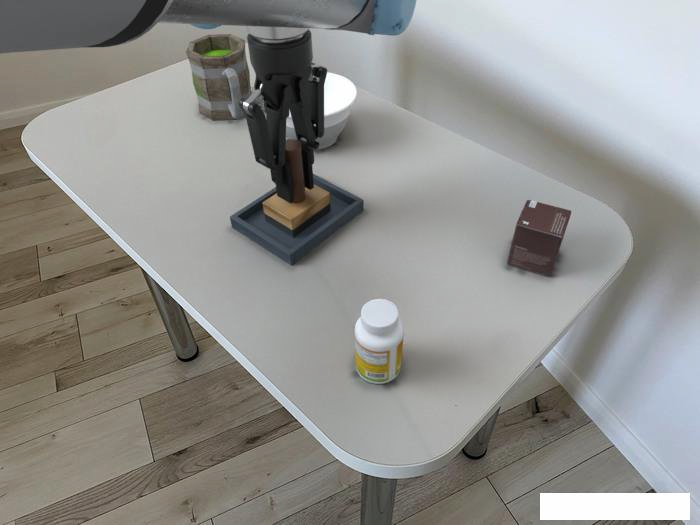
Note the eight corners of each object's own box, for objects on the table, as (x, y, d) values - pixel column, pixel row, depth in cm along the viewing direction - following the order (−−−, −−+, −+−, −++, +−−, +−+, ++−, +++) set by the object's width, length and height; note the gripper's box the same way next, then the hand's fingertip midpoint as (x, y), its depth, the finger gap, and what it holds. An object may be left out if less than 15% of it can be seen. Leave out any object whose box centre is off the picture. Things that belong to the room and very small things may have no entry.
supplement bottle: (383, 340, 70) (386, 286, 63) (410, 371, 67) (415, 317, 60) (346, 360, 68) (344, 306, 61) (372, 393, 65) (373, 340, 58)
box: (549, 278, 77) (562, 238, 72) (505, 264, 79) (515, 224, 74) (559, 250, 81) (572, 210, 76) (517, 238, 83) (527, 197, 78)
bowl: (301, 105, 111) (298, 63, 105) (374, 127, 105) (374, 83, 99) (250, 145, 101) (243, 101, 95) (327, 172, 95) (324, 126, 89)
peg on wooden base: (293, 238, 83) (285, 166, 74) (265, 220, 86) (253, 149, 77) (330, 210, 87) (327, 139, 78) (302, 195, 90) (295, 125, 81)
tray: (291, 265, 80) (289, 254, 78) (231, 227, 86) (229, 216, 84) (363, 210, 88) (363, 199, 86) (304, 179, 94) (303, 168, 92)
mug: (192, 100, 113) (179, 40, 104) (245, 88, 116) (236, 29, 108) (214, 139, 103) (200, 76, 94) (271, 125, 106) (263, 63, 97)
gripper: (304, 1, 73) (315, 157, 89) (202, 45, 64) (235, 208, 81) (349, 16, 69) (352, 175, 86) (247, 65, 61) (272, 231, 77)
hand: (295, 191), depth 83 cm, fingers open, 3 cm apart
